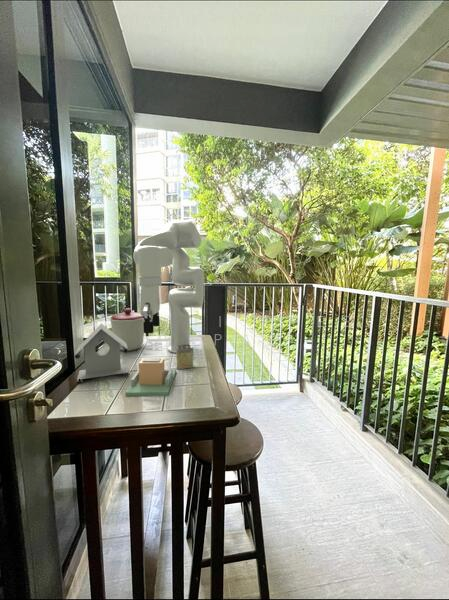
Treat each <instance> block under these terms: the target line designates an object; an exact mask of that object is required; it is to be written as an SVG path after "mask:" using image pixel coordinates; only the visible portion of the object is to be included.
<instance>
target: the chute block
mask: <svg viewBox="0 0 449 600" xmlns="http://www.w3.org/2000/svg"><path fill="white" fill-rule="evenodd" d="M165 369H166V367H165V358H164V357H143V358H141V359H140V361H139V362H138V370H139V385H162V384H163V381H164V379H165Z"/></svg>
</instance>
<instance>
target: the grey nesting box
mask: <svg viewBox="0 0 449 600" xmlns="http://www.w3.org/2000/svg"><path fill="white" fill-rule="evenodd" d="M101 341H103V342H104V344H107V345H108V347H109V350H108V352H107V353H106V354H104V355H102V354H98V353H97V351H96V348H97V345H99V344H101ZM120 344H121V345H122V347H123V351H122V352H123V353H124V354H128V353H129V351H128V347H127V344H126V342H124V341H123V340H122V339H120V338H119V337H118V336H117V335H115V334H114V333H113V332H112V330H110V329H109V328H108V327H106V326H105V325H104V324H103V323H100V324H99V325H98V326H97V327H96V328H95V330H94V331H93V332H92V333H91V334H90V335H89V336H88V337H86V339H84V341H83V342H82V343H81V344H79V346H78V347H77V348H76V350H75V354H74V359H75V360H80V358H81V356H82V351H83V350H84V354H83V355H84V366H85V367H84V368H85V369H80V370H78V373H79V374H77V379H76V381H77V380H79V379H80V381H79V382H81V380H82V381H83V380H85V379H91V378H92V379H93V378H99V377H105V376H113V375H119V374H123V376H124V377H125V378H127V377H129V376H130V372H129V368H128V365H127V364H125V363H124V364H122V363H121V350H120Z"/></svg>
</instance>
